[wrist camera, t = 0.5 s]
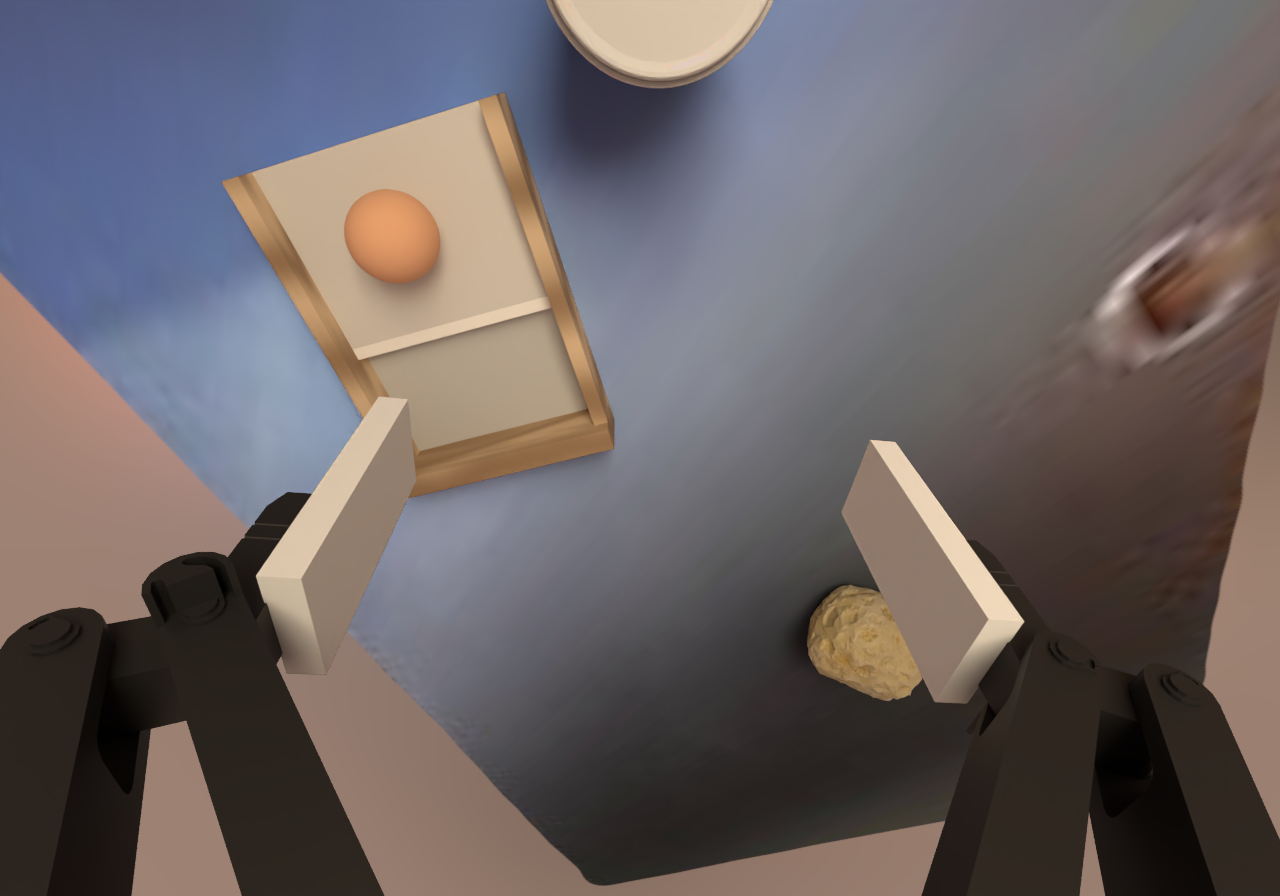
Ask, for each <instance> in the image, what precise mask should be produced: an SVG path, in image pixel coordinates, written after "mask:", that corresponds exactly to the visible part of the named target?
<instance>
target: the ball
mask: <svg viewBox="0 0 1280 896" xmlns="http://www.w3.org/2000/svg"><path fill="white" fill-rule="evenodd" d="M344 237H345V242H346V245H347V248H348V250H349V253H350V254H351V256H352V258H353V259H354V261H355V262H356V263H357V264H358V265H359V267H360V268H361V269H363V270H364V271H365V272H366V273H368V274H369V275H371V276H372V277H374V278H376V279H379V280H381V281H384V282H388V283H398V284H400V283H408V282H412V281H414V280H417V279H419V278H421V277H422V276H424V275H425V274H426V273H428V272H429V270H430V269H431V268H432V267H433V265H434V264H435V262H436V260H437V258H438V255H439V250H440V234H439V229H438V227H437V224H436V222H435V220H434V218H433V216H432V214H431V213H430V212H429V210H428V209H427V208H426V207H425V206H424V205H423V204H422V203H421V202H420V201H418V200H417V199H416V198H414V197H412V196H411V195H409V194H407V193H404V192H401V191H397V190H391V189H380V190H375V191H372V192H369V193H366V194H365V195H363V196H361V197H360V198H359V199H358V200H357V201H355V203H354V204H353V205H352V206H351V208H350V210H349V211H348V213H347V216H346V219H345V224H344Z"/></svg>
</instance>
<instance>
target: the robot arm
mask: <svg viewBox="0 0 1280 896" xmlns="http://www.w3.org/2000/svg"><path fill="white" fill-rule="evenodd" d="M415 482H416V473H415V463H414V453H413V443H412V433H411V423H410V413H409V403H408V399H400V398H389V397H378V399H377V400H376V401H375V403H374V404H373V406H372V407H371V409H370V410H369V412H368V413H367V415H366V416H365V418H364V419H363V420H362V422H361V423H360V425H359V426H358V428H357V429H356V431H355V432H354V434H353V435H352V436H351V438H350V439H349V441H348V442H347V444H346V445H345V447H344V448H343V450H342V451H341V453H340V454H339V455H338V457H337V458H336V460H335V461H334V463H333V464H332V466H331V467H330V469H329V470H328V472H327V473H326V474H325V476H324V477H323V479H322V480H321V482H320V483H319V485H318V486H317V488H316V489H315V490H314V492H313V493H312V494H307V493H293V492H287V493H286V494H284V495H283V496H281V497H280V498H278V499H277V500H275V501H274V502H272V503H271V504H269V505H268V506H267V507H266V508H265V509H264V511H263V512H262V513H261V515H260V516H259V517H258V518H257V520H256V521H255V525H252V526H251V528H250V529H249V530H248V531H247V533H246V534H245V538H244V539H241V541H240V542H239V543H238V545H237V546H236V547H235V548H234V550H233V551H232V553H231V554H230V555H229V556H228V558H227V557H226V556H225V555H221V554H218V553H215V552H196V553H192V554H188V555H183V556H179V557H177V558H175V559H173V560H171V561H168V562H166V563H164V564H162V565H161V566H160V567H158V568H157V569H156V570H154V571H153V572H152V573H150V574H149V576H148V577H147V579H146V580H145V581H144V583H143V584H142V597H143V599H144V601H145V604H146V606H147V607H148V610H149V612H150V614H151V616H150V617H145V618H139V619H134V620H128V621H122V622H117V623H112V624H106V622H105V620H104V619H103V617H102V616H101V615H100V614H99V613H97V612H96V611H95V610H93V609H87V608H80V607H78V608H70V609H62V610H58V611H55V612H52V613H49V614H46V615H43V616H40V617H39V618H37V619H35V620H33V621H31V622H29V623H27V624H25V625H23V626H22V627H21V628H20V629H18V630H17V631H16V632H15V633H13V634H12V635H11V636H10V637H9V638H8V639H7V640H6V642H5V643H4V645H3V646H2V648H1V649H0V896H131V894H132V886H133V876H134V869H135V860H136V851H137V843H138V834H139V826H140V817H141V809H142V800H143V791H144V783H145V774H146V766H147V757H148V749H149V740H150V731H151V729H152V728H156V727H161V726H165V725H169V724H173V723H178V722H182V721H187V724H188V727H189V730H190V733H191V737H192V740H193V742H194V746H195V749H196V752H197V755H198V758H199V762H200V765H201V768H202V771H203V774H204V778H205V781H206V783H207V787H208V790H209V793H210V796H211V800H212V803H213V806H214V809H215V812H216V815H217V819H218V822H219V825H220V828H221V831H222V834H223V838H224V841H225V843H226V847H227V850H228V853H229V856H230V860H231V863H232V866H233V869H234V872H235V875H236V879H237V882H238V885H239V888H240V891H241V894H242V896H384V894H383V892H382V890H381V887H380V885H379V883H378V881H377V879H376V877H375V875H374V872H373V870H372V868H371V866H370V864H369V862H368V860H367V858H366V856H365V853H364V851H363V849H362V847H361V845H360V843H359V840H358V838H357V836H356V834H355V832H354V830H353V828H352V825H351V823H350V821H349V819H348V817H347V815H346V813H345V811H344V808H343V806H342V804H341V802H340V800H339V798H338V796H337V794H336V791H335V789H334V787H333V785H332V783H331V781H330V778H329V776H328V774H327V772H326V770H325V768H324V766H323V763H322V762H321V759H320V757H319V755H318V753H317V751H316V749H315V746H314V745H313V742H312V740H311V738H310V736H309V734H308V731H307V729H306V727H305V725H304V723H303V721H302V719H301V716H300V714H299V712H298V710H297V708H296V706H295V704H294V702H293V700H292V697H291V695H290V693H289V691H288V689H287V687H286V684H285V682H284V680H283V678H282V676H281V674H280V672H279V669H278V667H277V665H276V664H277V662H278V660H279V659H280V657H282V660H283V663H284V666H285V669H286V673H291V674H313V675H326V674H327V672H328V670H329V668H330V666H331V663H332V661H333V659H334V657H335V655H336V653H337V650H338V648H339V646H340V644H341V642H342V640H343V638H344V635H345V633H346V631H347V629H348V627H349V625H350V623H351V620H352V618H353V616H354V614H355V612H356V610H357V607H358V605H359V603H360V601H361V599H362V597H363V595H364V592H365V590H366V588H367V586H368V584H369V582H370V579H371V577H372V575H373V573H374V571H375V569H376V566H377V564H378V562H379V560H380V558H381V556H382V554H383V551H384V549H385V547H386V545H387V543H388V541H389V538H390V536H391V534H392V532H393V530H394V528H395V525H396V523H397V521H398V519H399V517H400V515H401V513H402V510H403V508H404V506H405V504H406V502H407V500H408V497H409V495H410V493H411V491H412V489H413V487H414V484H415ZM842 515H843V517H844V519H845V521H846V523H847V525H848V527H849V529H850V531H851V533H852V535H853V537H854V539H855V541H856V543H857V545H858V547H859V549H860V551H861V553H862V555H863V557H864V559H865V561H866V563H867V566H868V568H869V570H870V572H871V574H872V576H873V578H874V580H875V582H876V584H877V586H878V588H879V590H880V592H881V594H882V596H883V598H884V600H885V602H886V604H887V606H888V608H889V610H890V612H891V614H892V616H893V618H894V620H895V622H896V624H897V626H898V628H899V630H900V632H901V634H902V637H903V639H904V641H905V643H906V645H907V647H908V649H909V651H910V653H911V655H912V657H913V659H914V661H915V663H916V665H917V667H918V669H919V671H920V673H921V675H922V677H923V679H924V681H925V683H926V685H927V687H928V689H929V691H930V693H931V695H932V697H933V699H934V701H935V702H946V703H967V702H968V701H969V700H970V698H971V697H972V695H973V694H974V692H975V691H976V690H977V688H978V687H980V689H981V691H982V693H983V694H984V696H985V698H986V700H987V701H988V702H987V703H986V705H985V706H984V707H983V709H982V710H981V711H980V713H979V714H978V716H977V717H976V718H975V720H974V721H973V722H972V724H971V725H970V726H969V728H968V729H967V731H966V732H968V733H970V734H972V733H973V732H974V733H973V737H972V740H971V743H970V746H969V749H968V752H967V755H966V758H965V761H964V765H963V768H962V771H961V774H960V777H959V780H958V783H957V786H956V790H955V793H954V796H953V799H952V802H951V805H950V808H949V811H948V815H947V818H946V821H945V824H944V827H943V830H942V833H941V837H940V839H939V843H938V846H937V849H936V852H935V855H934V858H933V861H932V864H931V868H930V871H929V874H928V877H927V880H926V883H925V886H924V890H923V893H922V896H1079V894H1080V885H1081V877H1082V868H1083V859H1084V850H1085V842H1086V833H1087V824H1088V815H1089V813H1090V819H1091V824H1092V829H1093V834H1094V839H1095V844H1096V850H1097V855H1098V860H1099V865H1100V870H1101V875H1102V881H1103V886H1104V891H1105V896H1280V839H1279V837H1278V835H1277V832H1276V830H1275V828H1274V826H1273V824H1272V821H1271V819H1270V817H1269V814H1268V812H1267V810H1266V808H1265V806H1264V803H1263V801H1262V799H1261V797H1260V794H1259V792H1258V790H1257V787H1256V785H1255V783H1254V781H1253V778H1252V776H1251V774H1250V772H1249V769H1248V767H1247V765H1246V763H1245V760H1244V758H1243V756H1242V754H1241V752H1240V749H1239V747H1238V745H1237V743H1236V740H1235V738H1234V736H1233V733H1232V731H1231V729H1230V727H1229V724H1228V722H1227V720H1226V718H1225V715H1224V713H1223V711H1222V709H1221V706H1220V705H1219V703H1218V702H1217V700H1216V698H1215V697H1214V696H1213V694H1212V693H1211V692H1210V691H1209V690H1208V689H1207V688H1206V687H1204V685H1203V684H1201V683H1200V682H1199V681H1198V680H1196V679H1195V678H1193V677H1192V676H1190V675H1189V674H1187V673H1185V672H1183V671H1181V670H1179V669H1177V668H1175V667H1172V666H1169V665H1165V664H1161V663H1150V664H1148V665H1147V666H1145V667H1144V668H1143V669H1142V670H1141V672H1140V673H1139V674H1138V675H1137V676H1135V675H1131V674H1128V673H1125V672H1122V671H1118V670H1115V669H1112V668H1109V667H1105V666H1102V665H1101V663H1100V662H1099V660H1098V659H1097V657H1096V656H1095V655H1094V654H1093V653H1092V652H1091V651H1090V650H1089V649H1088V648H1087V647H1085V646H1084V645H1083V644H1081V643H1079V642H1078V641H1076V640H1075V639H1073V638H1071V637H1069V636H1066V635H1064V634H1061V633H1059V632H1052V631H1051V630H1050V628H1049V627H1048V626H1047V624H1046V623H1045V622H1044V620H1043V619H1042V618H1041V616H1040V615H1039V614H1038V612H1037V611H1036V610H1035V608H1034V607H1033V606H1032V604H1031V603H1030V602H1029V600H1028V599H1027V598H1026V596H1025V595H1024V594H1023V592H1022V591H1021V590H1020V588H1019V587H1016V583H1015V582H1014V581H1013V579H1012V578H1011V577H1010V575H1009V574H1006V570H1005V569H1004V567H1003V566H1002V565H1001V563H1000V562H999V561H998V559H997V558H996V557H995V555H993V554H992V553H991V552H990V551H988V550H987V549H986V548H985V547H984V546H982V545H981V544H980V543H979V542H977V541H975V540H965V538H964V537H963V536H962V534H961V533H960V531H959V530H958V529H957V527H956V526H955V524H954V523H953V522H952V520H951V519H950V518H949V516H948V515H947V513H946V512H945V511H944V509H943V508H942V506H941V505H940V504H939V502H938V501H937V499H936V498H935V497H934V495H933V494H932V493H931V491H930V490H929V488H928V487H927V486H926V484H925V483H924V481H923V480H922V479H921V477H920V476H919V474H918V473H917V472H916V470H915V469H914V468H913V466H912V465H911V463H910V462H909V461H908V459H907V458H906V456H905V455H904V454H903V452H902V451H901V449H900V448H899V447H898V445H897V444H896V443H895V442H888V441H877V440H870V442H869V444H868V447H867V449H866V452H865V455H864V457H863V460H862V462H861V465H860V467H859V470H858V472H857V475H856V477H855V480H854V482H853V485H852V487H851V490H850V492H849V495H848V497H847V500H846V503H845V505H844V508H843V510H842Z"/></svg>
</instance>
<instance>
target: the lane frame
mask: <svg viewBox="0 0 1280 896" xmlns="http://www.w3.org/2000/svg"><path fill="white" fill-rule="evenodd" d="M478 102H479V105H480V107H481V110H482V113H483V116H484V119H485V121H486V124H487V127H488V130H489V133H490V135H491V138H492V141H493V144H494V147H495V149H496V152H497V155H498V158H499V161H500V163H501V166H502V169H503V172H504V175H505V177H506V180H507V183H508V186H509V189H510V191H511V194H512V197H513V200H514V203H515V205H516V208H517V211H518V214H519V217H520V219H521V222H522V225H523V228H524V231H525V233H526V236H527V239H528V242H529V245H530V247H531V250H532V253H533V256H534V259H535V261H536V264H537V267H538V270H539V273H540V275H541V278H542V281H543V284H544V287H545V289H546V292H547V295H548V298H549V301H550V303H551V306H552V309H553V312H554V315H555V317H556V320H557V323H558V326H559V329H560V331H561V334H562V337H563V340H564V343H565V345H566V348H567V351H568V354H569V357H570V359H571V362H572V365H573V368H574V371H575V373H576V376H577V379H578V382H579V385H580V387H581V390H582V393H583V396H584V399H585V401H586V404H587V407H588V409H586V410H582V411H578V412H574V413H570V414H566V415H562V416H558V417H554V418H550V419H546V420H542V421H538V422H534V423H530V424H526V425H522V426H518V427H514V428H510V429H506V430H502V431H498V432H494V433H490V434H486V435H482V436H478V437H474V438H470V439H466V440H462V441H458V442H454V443H450V444H446V445H442V446H438V447H434V448H430V449H426V450H422V451H420V450H419V449H418V447H417V445H416V443H415V441H414V440H413V438H412V443H413V453H414V463H415V473H416V482H415V484H414V487H413V489H412V491H411V493H410V495H409V497H408V498H411V497H416V496H420V495H424V494H428V493H432V492H436V491H440V490H445V489H449V488H453V487H457V486H461V485H465V484H469V483H474V482H478V481H482V480H486V479H490V478H494V477H498V476H503V475H507V474H511V473H515V472H519V471H523V470H527V469H532V468H536V467H540V466H544V465H548V464H552V463H557V462H561V461H565V460H569V459H573V458H577V457H581V456H586V455H590V454H594V453H598V452H602V451H606V450H610V449H614V417H613V414H612V411H611V408H610V405H609V402H608V399H607V396H606V393H605V390H604V387H603V384H602V381H601V378H600V375H599V372H598V369H597V366H596V363H595V360H594V357H593V354H592V351H591V348H590V345H589V342H588V339H587V336H586V333H585V330H584V327H583V324H582V321H581V318H580V315H579V312H578V309H577V306H576V303H575V300H574V297H573V294H572V291H571V288H570V285H569V282H568V279H567V276H566V273H565V270H564V267H563V264H562V261H561V258H560V255H559V252H558V249H557V246H556V243H555V240H554V237H553V234H552V231H551V228H550V225H549V222H548V219H547V216H546V213H545V210H544V207H543V204H542V201H541V198H540V195H539V192H538V189H537V186H536V183H535V180H534V177H533V174H532V171H531V168H530V165H529V162H528V159H527V156H526V153H525V150H524V147H523V144H522V141H521V138H520V135H519V132H518V129H517V126H516V123H515V120H514V117H513V114H512V111H511V108H510V105H509V102H508V99H507V96H506V93H501V94H497V95H494V96H491V97H487V98H484V99H481V100H478ZM222 184H223V185H224V187H225V189H226V190H227V192H228V194H229V195H230V197H231V199H232V200H233V202H234V204H235V205H236V207H237V209H238V210H239V212H240V214H241V215H242V217H243V219H244V220H245V222H246V224H247V225H248V227H249V229H250V230H251V232H252V234H253V235H254V237H255V239H256V240H257V242H258V244H259V245H260V247H261V249H262V250H263V252H264V254H265V255H266V257H267V259H268V260H269V262H270V264H271V265H272V267H273V269H274V270H275V272H276V274H277V275H278V277H279V279H280V280H281V282H282V284H283V285H284V287H285V289H286V290H287V292H288V294H289V295H290V297H291V299H292V300H293V302H294V304H295V305H296V307H297V309H298V310H299V312H300V314H301V315H302V317H303V319H304V320H305V322H306V324H307V325H308V327H309V329H310V330H311V332H312V334H313V335H314V337H315V339H316V340H317V342H318V344H319V345H320V347H321V349H322V350H323V352H324V354H325V355H326V357H327V359H328V360H329V362H330V364H331V365H332V367H333V369H334V370H335V372H336V374H337V375H338V377H339V379H340V380H341V382H342V384H343V385H344V387H345V389H346V390H347V392H348V394H349V395H350V397H351V399H352V400H353V402H354V404H355V405H356V407H357V409H358V410H359V412H360V414H361V415H362V417H363V419H364V418H365V416H366V415H367V413H368V412H369V410H370V409H371V407H372V406H373V404H374V403H375V401H376V400H377V399H378V397H389V395H388V393H387V391H386V390H385V388H384V386H383V384H382V382H381V381H380V379H379V377H378V375H377V373H376V372H375V370H374V368H373V366H372V365H371V363H370V361H369V359H368V358H365V359H361V360H358V358H357V356H356V355H355V353H354V351H353V349H352V348H351V346H350V344H349V342H348V340H347V339H346V337H345V335H344V333H343V332H342V330H341V328H340V326H339V325H338V323H337V321H336V319H335V318H334V316H333V314H332V312H331V311H330V309H329V307H328V305H327V304H326V302H325V300H324V298H323V297H322V295H321V293H320V291H319V290H318V288H317V286H316V284H315V283H314V281H313V279H312V277H311V276H310V274H309V272H308V270H307V268H306V267H305V265H304V263H303V261H302V260H301V258H300V256H299V254H298V253H297V251H296V249H295V247H294V246H293V244H292V242H291V240H290V239H289V237H288V235H287V233H286V232H285V230H284V228H283V226H282V225H281V223H280V221H279V219H278V218H277V216H276V214H275V212H274V211H273V209H272V207H271V205H270V204H269V202H268V200H267V198H266V196H265V195H264V193H263V191H262V189H261V188H260V186H259V184H258V182H257V181H256V179H255V177H254V175H253V174H252V172H251V173H248V174H245V175H241V176H238V177H235V178H232V179H228V180H225V181H222ZM389 398H390V397H389Z"/></svg>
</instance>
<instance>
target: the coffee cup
mask: <svg viewBox="0 0 1280 896" xmlns="http://www.w3.org/2000/svg"><path fill="white" fill-rule="evenodd" d="M546 2H547V4H548V7H549V9H550V11H551V13H552V15H553V17H554V19H555V20H556V22H557V24H558V26H559V27H560V29H561V30H562V32H563V33H564V35H565V36H566V37H567V39H568V40H569V41H570V42H571V44H572V45H573V46H574V47H575V48H576V50H577V51H578V52H579V53H580V54H581V55H582V56H584V57H585V58H586V59H587V60H588V61H589V62H590V63H591V64H593V65H594V66H595V67H597V68H598V69H599V70H601V71H602V72H604V73H606V74H608V75H609V76H611V77H613V78H615V79H617V80H620V81H622V82H625V83H628V84H631V85H635V86H640V87H645V88H673V87H678V86H683V85H686V84H689V83H692V82H695V81H698V80H700V79H702V78H704V77H706V76H709V75H710V74H712V73H713V72H715V71H717V70H718V69H720V68H721V67H722V66H724V65H725V64H726V63H728V62H729V61H730V60H731V59H732V58H733V57H734V56H735V55H737V54H738V53H739V52H740V51H741V50H742V49H743V47H744V46H745V45H746V44H747V43H748V41H749V40H750V39H751V38H752V37H753V35H754V34H755V32H756V31H757V29H758V28H759V26H760V25H761V23H762V22H763V20H764V18H765V16H766V15H767V13H768V11H769V9H770V7H771V5H772V3H773V0H546Z"/></svg>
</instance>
